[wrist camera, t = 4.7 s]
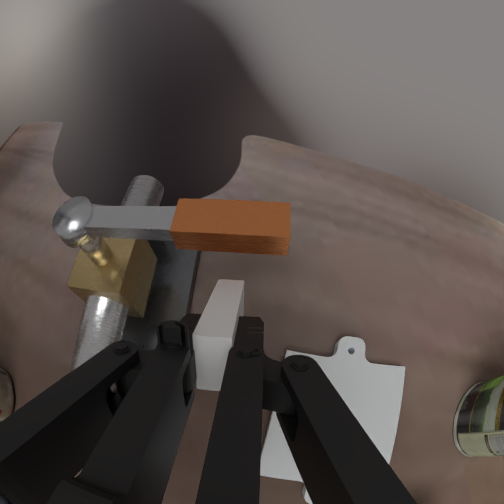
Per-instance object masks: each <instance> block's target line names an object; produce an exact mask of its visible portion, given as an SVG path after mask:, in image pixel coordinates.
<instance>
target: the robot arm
mask: <svg viewBox="0 0 504 504" xmlns="http://www.w3.org/2000/svg"><path fill="white" fill-rule="evenodd" d="M155 327H156V335H157V342H158V345H157V346H156V348H155V349H154V350H149V351H138V346H137V345H136V344H135V343H133V342H132V341H126V340H124V341H123V340H120V341H117V342H114V343H112V344H110V345H108V346H107V347H106V348H104V349H103V350H101V351H100V352H99V353H97V354H96V355H94V356H93V357H91V358H90V359H89V360H87V361H86V362H84V363H83V364H82V365H80V366H79V367H77V368H76V369H75V370H73V371H72V372H70V373H69V374H67V375H66V376H65V377H63V378H62V379H60V380H59V381H58V382H56V383H55V384H53V385H52V386H51V387H49V388H48V389H46V390H45V391H44V392H42V393H41V394H39V395H38V396H37V397H35V398H34V399H32V400H31V401H30V402H28V403H27V404H25V405H24V406H23V407H21V408H20V409H18V410H17V411H16V412H14V413H13V414H11V415H10V416H9V417H7V418H6V419H4V420H3V421H2V422H0V504H161V503H162V499H163V496H164V493H165V489H166V486H167V483H168V480H169V476H170V473H171V470H172V467H173V463H174V460H175V457H176V454H177V450H178V447H179V444H180V441H181V437H182V434H183V431H184V428H185V425H186V422H187V418H188V415H189V412H190V409H191V406H192V403H193V399H194V385H195V382H196V385H197V389H203V390H212V391H220V393H219V398H218V402H217V407H216V412H215V416H214V421H213V425H212V430H211V434H210V439H209V443H208V448H207V453H206V457H205V462H204V466H203V471H202V475H201V480H200V484H199V489H198V494H197V498H196V503H195V504H259V490H260V464H261V435H262V408H263V409H267V410H270V411H274V412H276V416H277V419H278V421H279V424H280V426H281V429H282V431H283V434H284V436H285V439H286V441H287V444H288V446H289V449H290V451H291V454H292V456H293V459H294V461H295V463H296V466H297V468H298V471H299V473H300V475H301V478H302V480H303V483H304V485H305V487H306V490H307V492H308V494H309V497H310V499H311V501H312V503H313V504H417V503H416V502H415V500H414V499H413V498H412V496H411V495H410V493H409V492H408V491H407V489H406V488H405V487H404V485H403V484H402V482H401V481H400V480H399V478H398V477H397V475H396V474H395V473H394V471H393V470H392V468H391V467H390V466H389V464H388V463H387V461H386V460H385V459H384V457H383V456H382V454H381V453H380V451H379V450H378V449H377V447H376V446H375V444H374V443H373V442H372V440H371V439H370V437H369V436H368V435H367V433H366V432H365V430H364V429H363V427H362V426H361V425H360V423H359V422H358V420H357V419H356V417H355V416H354V415H353V413H352V412H351V410H350V409H349V407H348V406H347V405H346V403H345V402H344V400H343V399H342V397H341V396H340V395H339V393H338V392H337V390H336V389H335V387H334V386H333V385H332V383H331V382H330V380H329V379H328V377H327V376H326V374H325V373H324V372H323V370H322V369H321V367H320V366H319V364H318V363H317V362H316V361H315V360H314V359H313V358H311V357H309V356H305V355H291V356H288V357H286V358H285V359H284V360H283V361H282V362H279V361H275V360H272V359H270V358H269V357H267V356H266V355H265V353H264V351H263V332H264V322H263V321H262V320H261V318H260V317H245V316H244V280H225V279H219V280H218V282H217V284H216V286H215V288H214V290H213V292H212V294H211V297H210V299H209V301H208V303H207V305H206V307H205V309H204V311H203V313H202V314H190V313H189V314H187V315H185V316H184V317H182V319H181V320H180V321H177V320H169V321H164V322H161V323H159V324H158V325H156V326H155ZM114 383H115V385H116V389H114V390H113V391H111V388H110V387H111V386H112V385H113V384H114ZM83 467H84V468H83ZM82 468H83V470H82V471H81V473H80V474H79V476H77V477H76V478H73V477H74V476H75V475H76V474H77V473H78V472H79V471H80V470H81V469H82Z"/></svg>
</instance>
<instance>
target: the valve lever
mask: <svg viewBox="0 0 504 504" xmlns="http://www.w3.org/2000/svg"><path fill="white" fill-rule="evenodd" d="M53 229H54V231H55V232H56V233H57V234H58V235H59V237H60V238H61V239H62V240H63V241H64V243H65V244H66V245H67V246H69V247H79V246H82V245H84V244H86V243H87V242H88V241H90V240H91V239H92V238H93V237H101V238H122V239H142V240H162V241H174V244H175V246H176V248H177V249H185V250H202V251H219V252H236V253H253V254H271V255H287V253H288V247H289V242H290V203H281V202H264V201H244V200H217V199H179V200H178V204H177V206H92V204H91V203H90V201H89V199H88V198H86V197H83V196H78V197H74V198H72V199H70V200H68V201H67V202H65V203H64V204H63V205H62V206H61V207H60V208H59V209H58V211H57V212H56V214H55V216H54V219H53Z"/></svg>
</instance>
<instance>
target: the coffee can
mask: <svg viewBox="0 0 504 504" xmlns="http://www.w3.org/2000/svg"><path fill="white" fill-rule="evenodd" d="M453 438H454V442H455V445H456V447H457V449H458V450H459V451H460V453H462V454H463V455H465V456H470V457H471V456H504V375H503V376H500V377H497V378H494V379H491V380H488V381H484V382H479V383H477V384H475V385H474V386H472V387H471V388H470V389H469V390H468V391H467V392H466V393H465V395H464V396H463V398H462V400H461V401H460V403H459V406H458V408H457V411H456V414H455V418H454V424H453Z"/></svg>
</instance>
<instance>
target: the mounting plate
mask: <svg viewBox="0 0 504 504" xmlns="http://www.w3.org/2000/svg"><path fill="white" fill-rule="evenodd" d="M348 351H349V352H350V354H349V352H348ZM291 355H305V356H309V357H311V358H313V359H314V360H315V361H316V362H317V363H318V364H319V366H320V367H321V369H322V370H323V372H324V373H325V374H326V376H327V377H328V379H329V380H330V382H331V383H332V385H333V386H334V387H335V389H336V390H337V392H338V393H339V395H340V396H341V397H342V399H343V400H344V402H345V403H346V405H347V406H348V407H349V409H350V410H351V412H352V413H353V415H354V416H355V417H356V419H357V420H358V422H359V423H360V425H361V426H362V427H363V429H364V430H365V432H366V433H367V435H368V436H369V437H370V439H371V440H372V442H373V443H374V444H375V446H376V447H377V449H378V450H379V451H380V453H381V454H382V456H383V457H384V459H385V460H386V461H387V463H388V464H389V463H390V459H391V455H392V450H393V446H394V441H395V436H396V431H397V426H398V420H399V414H400V407H401V401H402V393H403V385H404V375H405V367H402V366H392V365H382V364H373V363H370V362H368V361H367V360H366V358H365V343H364V341H363V340H362V339H360V338H356V337H350V336H345V337H343V338H341V339H340V340H339V341H338V342H337V343H336V344H335V347H334V353H333V355H332V357H323V356H317V355H311V354H306V353H300V352H295V351H289V350H287V351H286V353H285V358H286V357H288V356H291ZM285 358H284V359H285ZM260 475H261V476H266V477H273V478H279V479H286V480H294V481H301V482H303V480H302V478H301V475H300V473H299V471H298V468H297V466H296V463H295V461H294V459H293V456H292V454H291V451H290V449H289V446H288V444H287V441H286V439H285V436H284V434H283V431H282V429H281V426H280V424H279V421H278V419H277V416H276V412H274V411H272V414H271V418H270V422H269V426H268V429H267V433H266V437H265V441H264V445H263V448H262V452H261V464H260ZM302 496H303V497H304V499H305V501H306V502H307V503H310V504H313V503H312V501H311V499H310V497H309V494H308V492H307V490H306V487H305V485H304V486H303V490H302Z"/></svg>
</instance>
